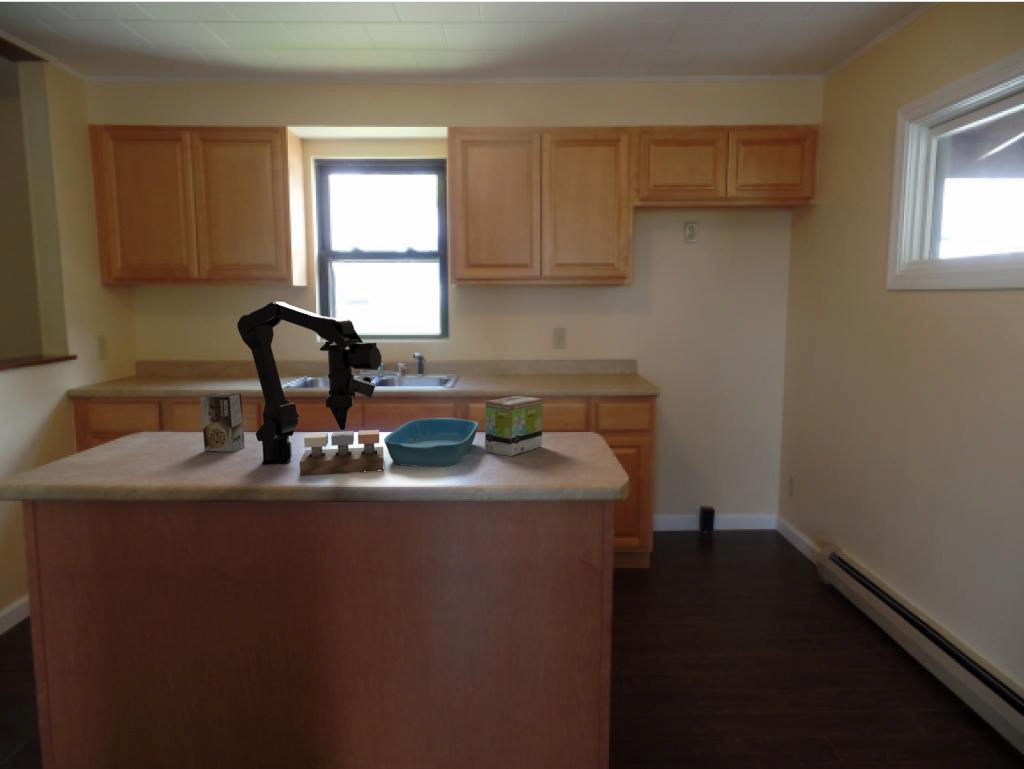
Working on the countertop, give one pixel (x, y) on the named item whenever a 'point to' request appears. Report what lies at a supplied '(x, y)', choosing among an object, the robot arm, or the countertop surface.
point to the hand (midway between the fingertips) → (342, 429)
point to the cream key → (316, 443)
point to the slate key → (342, 441)
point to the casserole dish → (431, 441)
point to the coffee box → (222, 422)
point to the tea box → (513, 425)
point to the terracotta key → (368, 440)
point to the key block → (341, 462)
